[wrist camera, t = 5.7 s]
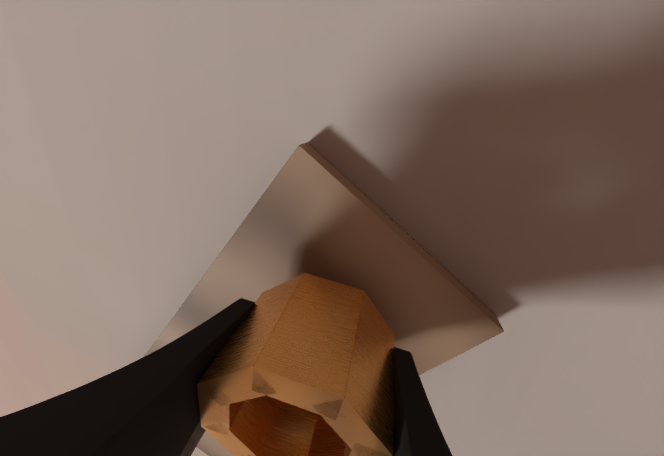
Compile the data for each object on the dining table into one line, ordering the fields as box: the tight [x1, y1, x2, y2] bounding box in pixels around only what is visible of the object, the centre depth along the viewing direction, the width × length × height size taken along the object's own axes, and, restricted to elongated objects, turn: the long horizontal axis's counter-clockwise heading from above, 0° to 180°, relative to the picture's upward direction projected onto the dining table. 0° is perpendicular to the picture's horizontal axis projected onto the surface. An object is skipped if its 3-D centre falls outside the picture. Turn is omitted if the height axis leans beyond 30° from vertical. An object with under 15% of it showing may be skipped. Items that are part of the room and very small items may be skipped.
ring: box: [197, 273, 395, 456], centre depth 9 cm, size 6×6×4 cm
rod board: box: [144, 143, 504, 456], centre depth 14 cm, size 24×11×4 cm, turn 140°
